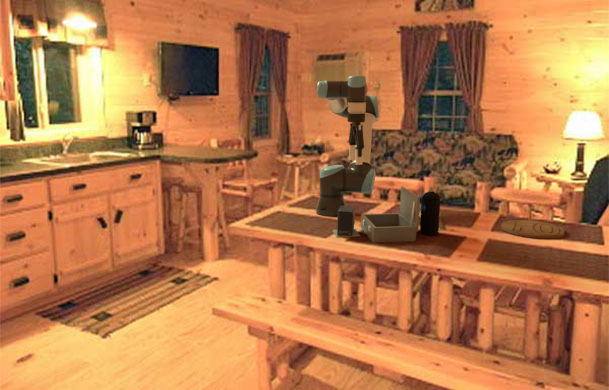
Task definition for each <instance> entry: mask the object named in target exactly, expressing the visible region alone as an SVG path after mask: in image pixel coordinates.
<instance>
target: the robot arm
mask: <svg viewBox="0 0 609 390" xmlns="http://www.w3.org/2000/svg"><path fill="white" fill-rule="evenodd" d="M316 93H317V94H316V95H317V97H318V99H325V100H326V101H327V104H328V109H330V111H331V112H332V113H333V114H335V115H337V116H340V117H342V118H346V119H347V122H348V123H350V124H349V133H348V134H349V135H348V146H349V147H348V148H349V151H348V152H349V154H348V157H349V158H348V160H349V161H352V162H350V164H349V166H348V167H347V168H345V166H344V165H343V164H336V165H335V164H334V165H328V166H324V167H322V168H321V169H320V171H319V177H318V178H319V197H318V202H317V204H316V208H315V213H316V214H317V215H320V216H324V217H325V216H328V217H338V210H339V208H340V206H347V205H346V202H345V198H344V193H352V194H353V193H355V194H370V193H372V192H373V190H374V187H375V181H376V169H375V168H374V166H373V164H372V163H371V155H372V154H371V153H372V136H373V135H372V134H373V124H375V122H376V121H377V119H379V115H380V114H379V103H378V102H379V101H378V97H377V96H376V95H374V94H373V95H370V94H367V93H368V86H367V78H366V76H365V75H349V76H348V79H347V80H320V81H318V82H317V84H316Z"/></svg>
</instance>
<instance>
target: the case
mask: <svg viewBox="0 0 609 390" xmlns="http://www.w3.org/2000/svg"><path fill="white" fill-rule="evenodd" d="M420 199H421V196H419V195H417V193H416V194H415V193H414V192H413V191H410V190H409V189H408V188H406V187H405V186H400V202H399V203H400V204H399V206H400V207H399V212H393V213H392V212H391V213H362V214H361V215H360V229H361V230H362V231H364V233H365V234H366V235H367V237H368V238H369V239H370V240H371V241H372V243H375V244H376V243H396V242H397V243H399V242H416V240H417V232H419V229H420V207H421V203H420V202H421V200H420Z"/></svg>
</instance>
